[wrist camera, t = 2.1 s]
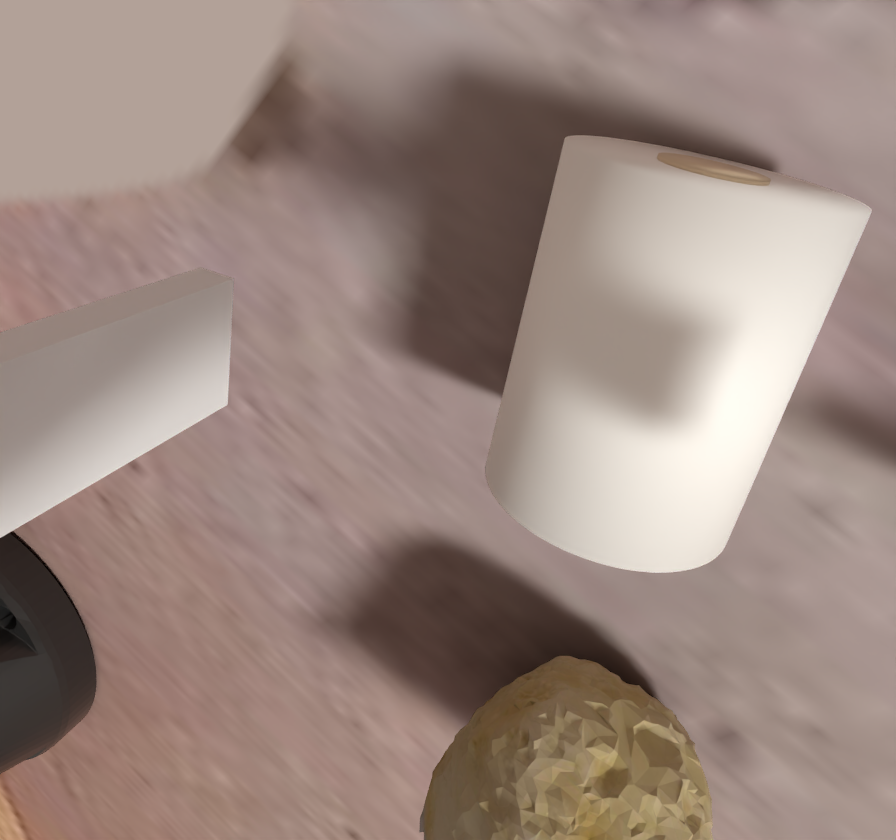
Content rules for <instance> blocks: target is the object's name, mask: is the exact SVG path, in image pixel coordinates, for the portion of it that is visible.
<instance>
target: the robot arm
mask: <svg viewBox="0 0 896 840" xmlns="http://www.w3.org/2000/svg"><path fill="white" fill-rule="evenodd" d="M233 288H234V278H231V277H228V276H225V275H222V274H219V273H216V272H213V271H210V270H207V269H204V268H198V269H195V270H192V271H189V272H185V273H182V274H179V275H176V276H173V277H170V278H167V279H164V280H161V281H158V282H155V283H151V284H148V285H145V286H142V287H139V288H136V289H133V290H130V291H127V292H124V293H121V294H117V295H114V296H111V297H108V298H105V299H102V300H99V301H96V302H93V303H90V304H87V305H84V306H80V307H77V308H74V309H71V310H68V311H65V312H62V313H59V314H56V315H53V316H50V317H46V318H43V319H40V320H37V321H34V322H31V323H28V324H25V325H22V326H19V327H16V328H13V329H9V330H6V331H3V332H0V774H1V773H3V772H5V771H6V770H8V769H10V768H12V767H14V766H15V765H17V764H19V763H21V762H22V761H24V760H27V759H31V758H34V757H36V756H39V755H41V754H43V753H44V752H46V751H47V750H48V749H50V748H51V747H53V746H54V745H55V744H56V743H57V742H58V741H59V740H61V739H62V738H63V737H64V736H65V735H66V734H67V733H68V732H69V731H70V730H71V729H72V728H73V727H75V726H76V725H77V724H78V723H79V722H80V721H81V720H82V719H83V718H84V717H85V716H86V715H87V713H88V712H89V710H90V708H91V706H92V703H93V700H94V697H95V692H96V668H95V662H94V657H93V652H92V649H91V646H90V642H89V640H88V637H87V634H86V632H85V629H84V627H83V625H82V622H81V620H80V618H79V616H78V614H77V612H76V611H75V609H74V607H73V605H72V604H71V602H70V600H69V599H68V597H67V596H66V594H65V593H64V591H63V590H62V588H61V587H60V585H59V584H58V583H57V581H56V580H55V579H54V577H53V576H52V575H51V574H50V572H49V571H48V570H47V569H46V568H45V566H44V565H43V564H42V563H41V562H40V561H39V560H38V559H37V558H36V557H35V556H34V555H33V554H32V552H30V551H29V550H28V549H27V548H26V547H25V546H24V545H23V544H22V543H21V542H20V541H18V540H17V539H16V538H15V537H14V536H12V535H11V534H10V532H11V531H13V530H15V529H16V528H18V527H20V526H22V525H23V524H25V523H27V522H28V521H30V520H32V519H33V518H35V517H37V516H39V515H40V514H42V513H44V512H45V511H47V510H49V509H50V508H52V507H54V506H56V505H57V504H59V503H61V502H62V501H64V500H66V499H68V498H69V497H71V496H73V495H74V494H76V493H78V492H79V491H81V490H83V489H85V488H86V487H88V486H90V485H91V484H93V483H95V482H97V481H98V480H100V479H102V478H103V477H105V476H107V475H108V474H110V473H112V472H114V471H115V470H117V469H119V468H120V467H122V466H124V465H126V464H127V463H129V462H131V461H132V460H134V459H136V458H137V457H139V456H141V455H143V454H144V453H146V452H148V451H149V450H151V449H153V448H154V447H156V446H158V445H160V444H161V443H163V442H165V441H166V440H168V439H170V438H172V437H173V436H175V435H177V434H178V433H180V432H182V431H183V430H185V429H187V428H189V427H190V426H192V425H194V424H195V423H197V422H199V421H201V420H202V419H204V418H206V417H207V416H209V415H211V414H212V413H214V412H216V411H218V410H219V409H221V408H223V407H224V406H226V405H228V386H229V367H230V347H231V327H232V308H233Z"/></svg>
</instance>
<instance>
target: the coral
mask: <svg viewBox="0 0 896 840" xmlns="http://www.w3.org/2000/svg"><path fill="white" fill-rule="evenodd" d="M712 826H713V824H712V799H711V796H710V793H709V788H708V784H707V781H706V778H705V775H704V772H703V770H702V767H701V764H700V761H699V759H698V757H697V755H696V752H695V743H694V742H692V741H691V740H690V737H689V735H688V733H687V732H686V730H685V728H684V727H683V726H682V725H681V724H680V722H679V721H678V720H677V717H676V715H674V714H673V712H672V710H670V709H668V708H666V707H665V706H664V705H663V704H662V703H661V702H660V701H658V700H657V699H656V698H653V697H651V696H650V695H648V694H647V693H646V692H645V691H644V690H643V689H642V688H641V687H640V686H639V685H632V684H627V683H625V682H624V681H622V680H621V679H620V677H619V676H618V675H616V674H614V673H612V672H609V671H608V670H607V669H606V668H604V667H603V666H601V665H600V664H598V663H596V662H593V661H589V660H586V659H581V660H580V659H577V658H574V657H571V656H558V657H555V658H554V659H552V660H550V661H549V662H547V663H545V664H542V665H540V666H539V667H537V668H536V669H535V670H533V671H531V672H529V673H526V674H524V675H522V676H521V677H518V678H517V679H515V680H514V681H513V682H512V683H511V684H509V685H506V686H504V687H502V688H501V689H500V690H499V691H498V692H497V693H495V695H494V697H493V698H491V699H490V700H488V701H487V702H486V703H485V704H484V706H482V707H480V708H477V710H476V712H475V713H474V714H473V716H472V718H471V720H470V721H469V723H468V724H467V725H466V726H465V727H463V728H462V729H461V730H460V731H459V732H458V733H457V734H456V736H455V739H454V741H453V743H452V744H451V745H450V746H449V748H448V750H447V751H446V752H445V753H444V755H443V757H442V759H441V760H440V762H439V763H438V764H437V766H436V767H435V769H434V771H433V775H432V779H431V783H430V786H429V790H428V793H427V797H426V800H425V805H424V809H423V812H422V814H421V817H420V832H424V840H713V837H712V833H711V828H712Z"/></svg>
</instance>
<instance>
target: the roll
mask: <svg viewBox="0 0 896 840" xmlns="http://www.w3.org/2000/svg"><path fill="white" fill-rule="evenodd" d="M871 212H872V210H871V208H870V207H868V206H867V205H865V204H864V203H862V202H860V201H858V200H856V199H854V198H851V197H849V196H847V195H844V194H842V193H839V192H836V191H833V190H831V189H828V188H825V187H822V186H819V185H816V184H813V183H810V182H807V181H803V180H800V179H797V178H794V177H790V176H787V175H783V174H780V173H776V172H773V171H769V170H765V169H762V168H758V167H754V166H750V165H746V164H742V163H738V162H734V161H730V160H725V159H721V158H717V157H713V156H708V155H704V154H700V153H695V152H691V151H686V150H681V149H676V148H671V147H666V146H661V145H655V144H650V143H644V142H638V141H632V140H625V139H618V138H610V137H601V136H589V135H572V136H567V137H565V139H564V143H563V147H562V151H561V156H560V160H559V164H558V168H557V172H556V176H555V180H554V185H553V189H552V193H551V197H550V201H549V205H548V209H547V213H546V218H545V222H544V226H543V230H542V234H541V238H540V242H539V247H538V251H537V255H536V259H535V263H534V267H533V271H532V276H531V280H530V284H529V288H528V292H527V296H526V300H525V305H524V309H523V313H522V317H521V321H520V325H519V329H518V334H517V338H516V342H515V346H514V350H513V354H512V358H511V362H510V367H509V371H508V375H507V379H506V383H505V387H504V391H503V396H502V400H501V404H500V408H499V412H498V416H497V420H496V425H495V429H494V433H493V437H492V441H491V445H490V449H489V454H488V458H487V462H486V466H485V474H486V479H487V483H488V486H489V488H490V490H491V492H492V494H493V495H494V497H495V498H496V500H497V501H498V503H499V504H500V505H501V506H502V507H503V508H504V510H505V511H506V512H507V513H508V514H509V515H510V516H511V517H513V518H514V519H515V520H516V521H517V522H518V523H519V524H521V525H522V526H523V527H525V528H526V529H528V530H529V531H530V532H532V533H533V534H535V535H536V536H538V537H540V538H541V539H543V540H545V541H546V542H548V543H550V544H552V545H554V546H556V547H558V548H560V549H562V550H564V551H567V552H569V553H572V554H574V555H576V556H579V557H581V558H584V559H587V560H590V561H593V562H596V563H600V564H604V565H608V566H612V567H616V568H620V569H626V570H632V571H640V572H653V573H663V572H678V571H685V570H689V569H693V568H697V567H700V566H702V565H705V564H707V563H709V562H710V561H712V560H713V559H715V558H716V557H717V556H718V555H719V554H720V553H721V552H722V551H723V550H724V548H725V546H726V544H727V542H728V539H729V537H730V535H731V532H732V530H733V528H734V526H735V523H736V521H737V519H738V516H739V514H740V512H741V510H742V507H743V505H744V503H745V500H746V498H747V496H748V494H749V491H750V489H751V487H752V484H753V482H754V480H755V478H756V475H757V473H758V471H759V468H760V466H761V464H762V462H763V459H764V457H765V455H766V452H767V450H768V448H769V445H770V443H771V441H772V439H773V436H774V434H775V432H776V429H777V427H778V425H779V423H780V420H781V418H782V416H783V413H784V411H785V409H786V407H787V404H788V402H789V400H790V397H791V395H792V393H793V391H794V388H795V386H796V384H797V381H798V379H799V377H800V375H801V372H802V370H803V368H804V365H805V363H806V361H807V359H808V356H809V354H810V352H811V349H812V347H813V345H814V343H815V340H816V338H817V336H818V333H819V331H820V329H821V327H822V324H823V322H824V320H825V317H826V315H827V313H828V311H829V308H830V306H831V304H832V301H833V299H834V297H835V295H836V292H837V290H838V288H839V285H840V283H841V281H842V279H843V276H844V274H845V272H846V269H847V267H848V265H849V263H850V260H851V258H852V256H853V253H854V251H855V249H856V247H857V244H858V242H859V240H860V237H861V235H862V233H863V231H864V228H865V226H866V224H867V221H868V219H869V217H870V215H871Z"/></svg>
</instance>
